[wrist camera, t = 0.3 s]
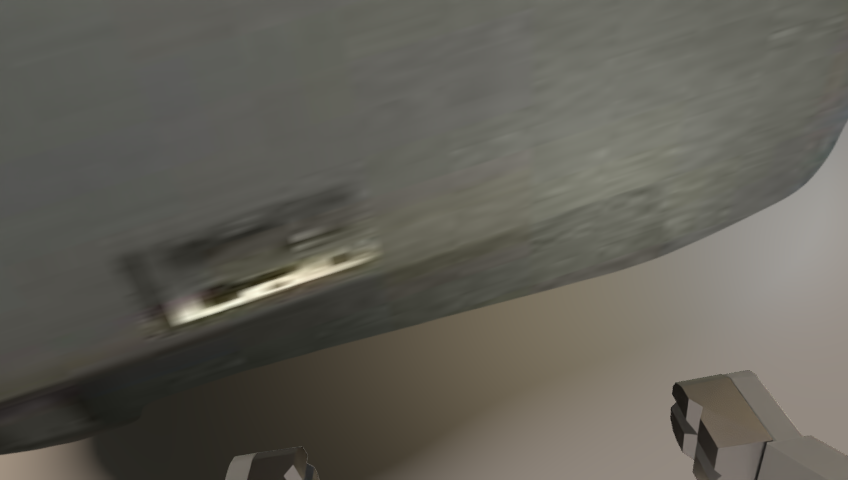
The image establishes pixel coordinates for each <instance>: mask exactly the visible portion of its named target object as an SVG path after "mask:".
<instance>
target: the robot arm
mask: <svg viewBox="0 0 848 480" xmlns="http://www.w3.org/2000/svg"><path fill="white" fill-rule="evenodd" d="M672 395H673V397H674V399H675V400H676V403H675V404H674V405H673V406H672V407H671V416H670V419H671V424H672V429H673V432H674V435H675V438H676V440H677V442H678V444H679V446H680V448H681V450H682V452H683V453H684V454H686V455H687V456H689V457H690V458H692V459H693V460H694V465H693V474H694V475H695V477H696V479H697V480H848V456H847V455H845V454H843V453H841V452H840V451H838V450H836V449H835V448H833V447H831V446H829V445H827V444H826V443H824V442H822V441H820V440H818V439H817V438H815V437H813V436H803V435H802V434H801V433H800V431H799V430H798V429H797V428H796V427H795V425H794V424H793V422H792V421H791V420H790V418H789V417H788V416H787V415H786V413H785V412H784V411H783V409H782V408H781V407H780V405H779V404H778V403H777V402H776V401H775V399H774V398H773V396H772V395H771V394H770V392H769V391H768V390H767V389H766V387H765V386H764V385H763V383H762V382H761V381H760V380H759V378H758V377H757V376H756V374H755V373H753V372H752V371H750V370H746V371H740V372H734V373H729V374H724V375H722V374H719V375H714V376H709V377H703V378H697V379H692V380H687V381H681V382H676V383H675V384H674V385H673V390H672ZM307 457H308V455H307V453H306V451H305V450H304V448H303V447H295V448H288V449H282V450H275V451H268V452H261V453H254V454H248V455H241V456H236V457H234V459H233V460H232V462H231V463H230V465H229V468H228V472H227V475H226V479H225V480H319V477H318V473H317V472H316V470H315V468H314V467H313V466H311V465H309V464H307Z"/></svg>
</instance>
